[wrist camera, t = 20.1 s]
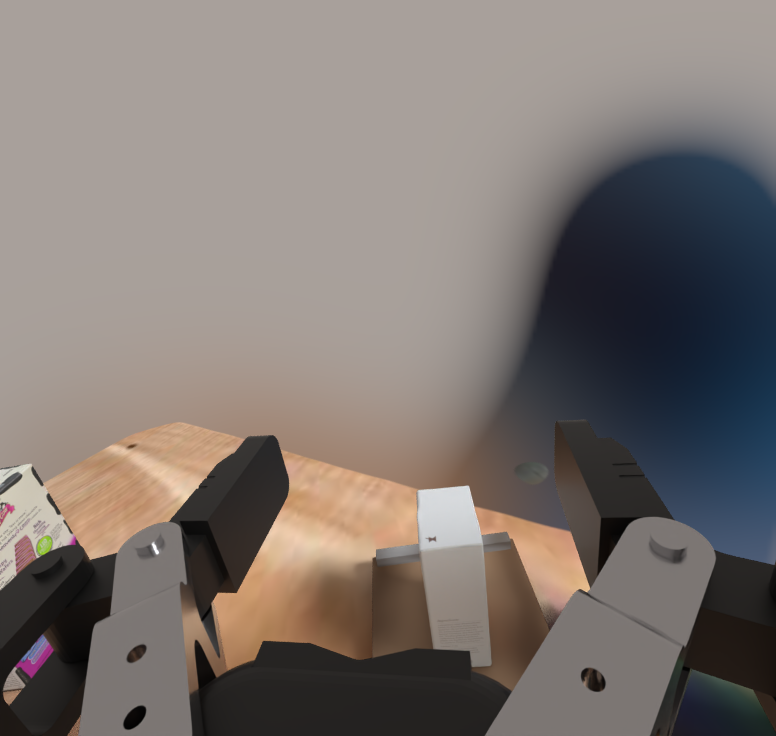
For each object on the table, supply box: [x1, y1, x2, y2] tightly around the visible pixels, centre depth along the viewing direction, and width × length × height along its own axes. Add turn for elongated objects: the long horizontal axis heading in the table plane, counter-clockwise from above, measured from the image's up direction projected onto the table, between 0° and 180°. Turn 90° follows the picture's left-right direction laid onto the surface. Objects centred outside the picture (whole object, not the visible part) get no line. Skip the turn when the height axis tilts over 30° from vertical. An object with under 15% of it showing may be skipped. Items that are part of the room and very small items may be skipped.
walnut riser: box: [372, 532, 550, 691], centre depth 34 cm, size 14×16×3 cm
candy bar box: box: [0, 464, 80, 692], centre depth 38 cm, size 11×5×16 cm, turn 5°
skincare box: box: [417, 486, 492, 667], centre depth 31 cm, size 6×4×12 cm
